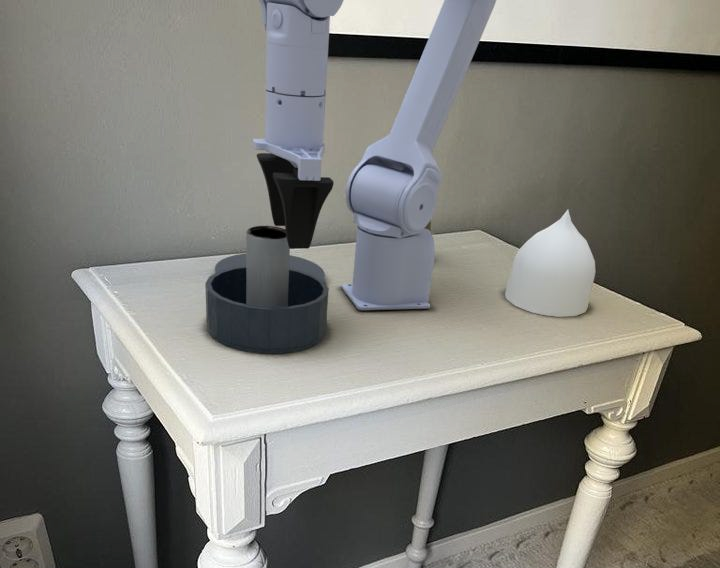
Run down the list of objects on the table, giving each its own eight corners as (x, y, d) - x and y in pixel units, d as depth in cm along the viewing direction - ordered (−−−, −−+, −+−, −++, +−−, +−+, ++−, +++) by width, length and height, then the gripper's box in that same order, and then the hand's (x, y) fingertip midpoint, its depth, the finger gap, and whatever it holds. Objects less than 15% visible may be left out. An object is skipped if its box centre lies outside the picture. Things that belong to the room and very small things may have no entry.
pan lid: (310, 259, 104) (311, 224, 101) (336, 297, 93) (339, 258, 90) (208, 260, 99) (207, 224, 97) (223, 299, 88) (222, 259, 86)
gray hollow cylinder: (278, 335, 80) (281, 241, 74) (240, 328, 81) (239, 233, 75) (292, 321, 84) (296, 229, 78) (255, 313, 84) (256, 223, 79)
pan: (310, 305, 90) (312, 264, 87) (338, 351, 79) (342, 307, 77) (200, 307, 86) (199, 265, 83) (215, 356, 76) (214, 310, 73)
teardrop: (605, 311, 97) (632, 218, 90) (543, 321, 92) (567, 224, 85) (548, 282, 105) (569, 195, 98) (488, 290, 100) (505, 199, 93)
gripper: (241, 78, 74) (242, 215, 82) (268, 102, 63) (266, 258, 71) (309, 82, 76) (303, 216, 84) (347, 106, 65) (336, 258, 73)
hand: (291, 236), depth 77 cm, fingers open, 7 cm apart
